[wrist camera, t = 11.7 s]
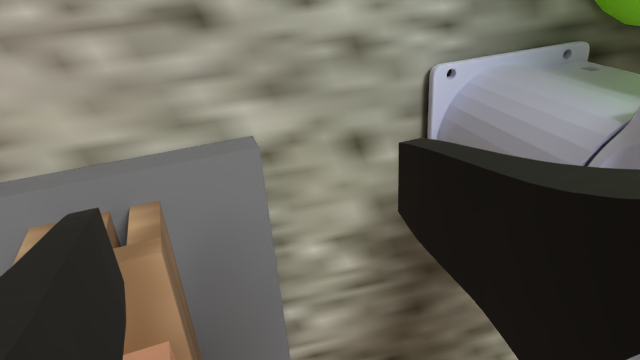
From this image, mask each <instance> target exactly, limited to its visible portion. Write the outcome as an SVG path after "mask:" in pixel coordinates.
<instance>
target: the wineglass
mask: <svg viewBox="0 0 640 360" xmlns="http://www.w3.org/2000/svg"><path fill="white" fill-rule="evenodd" d="M595 2H596V3H597V4H598V6H599V7H600V8H601V10H602V11H604V12H606V13H607V14H609V15H611V16H612V17H614V18H616V19H617V20H619V21H620V22H622V23H624V24H627V25H635V26H640V0H595Z"/></svg>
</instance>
